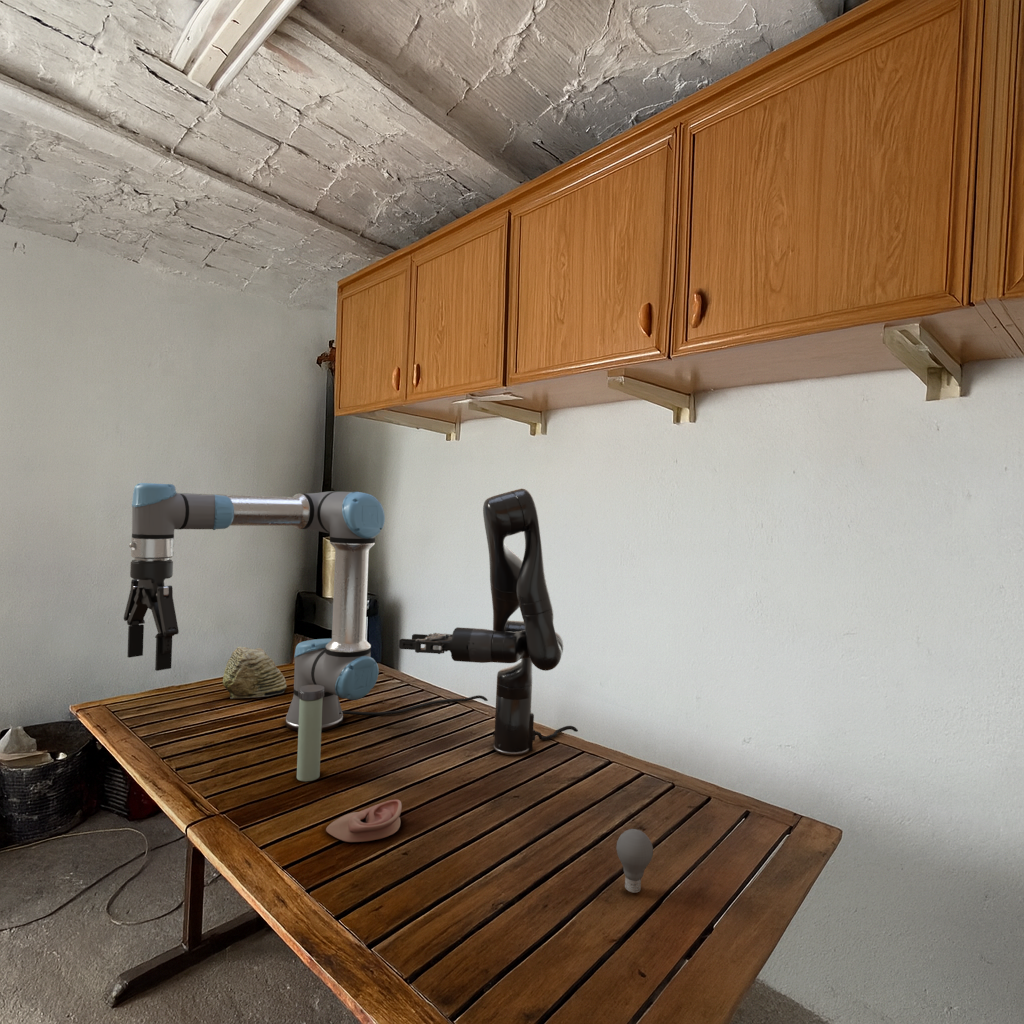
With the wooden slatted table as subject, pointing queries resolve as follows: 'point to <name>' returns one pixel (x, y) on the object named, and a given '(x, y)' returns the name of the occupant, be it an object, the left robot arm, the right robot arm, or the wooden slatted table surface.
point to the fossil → (252, 674)
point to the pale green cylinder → (309, 739)
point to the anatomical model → (368, 823)
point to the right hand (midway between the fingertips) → (406, 641)
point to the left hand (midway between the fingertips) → (148, 662)
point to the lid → (311, 692)
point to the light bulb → (634, 857)
